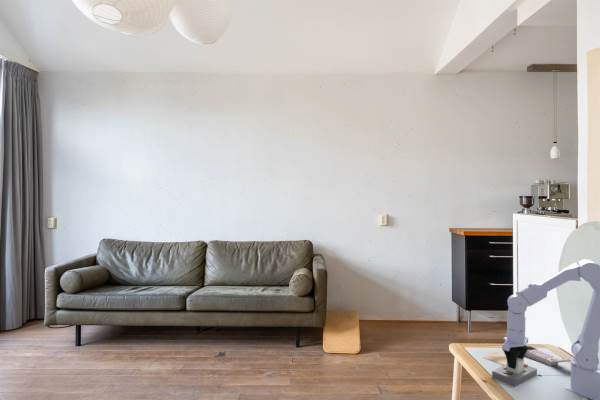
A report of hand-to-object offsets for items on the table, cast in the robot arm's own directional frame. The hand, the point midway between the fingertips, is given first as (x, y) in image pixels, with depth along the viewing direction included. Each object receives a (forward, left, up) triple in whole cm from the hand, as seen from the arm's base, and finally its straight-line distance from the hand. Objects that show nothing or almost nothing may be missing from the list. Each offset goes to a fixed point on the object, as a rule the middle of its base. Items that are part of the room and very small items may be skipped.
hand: (515, 366), depth 137 cm
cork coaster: (+10, -10, -4) cm, 15 cm away
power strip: (0, 0, -4) cm, 4 cm away
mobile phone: (+1, -24, -4) cm, 25 cm away
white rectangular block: (0, 0, -3) cm, 3 cm away
